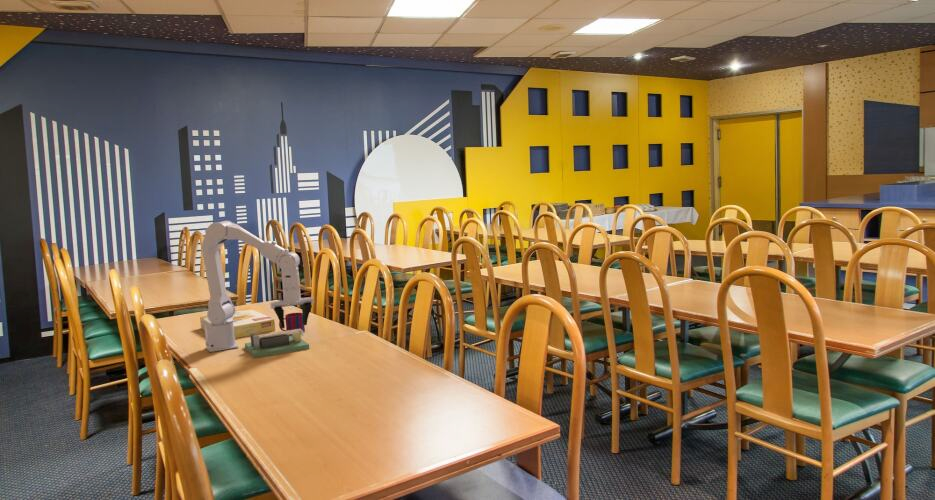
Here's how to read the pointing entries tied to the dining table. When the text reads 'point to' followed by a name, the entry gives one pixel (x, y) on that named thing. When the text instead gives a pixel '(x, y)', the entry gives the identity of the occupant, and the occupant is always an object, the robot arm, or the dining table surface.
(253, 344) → the dark and beige blocks
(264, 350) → the circuit board
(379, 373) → the dining table surface
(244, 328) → the cereal box
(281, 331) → the beige long bar
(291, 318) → the mug
